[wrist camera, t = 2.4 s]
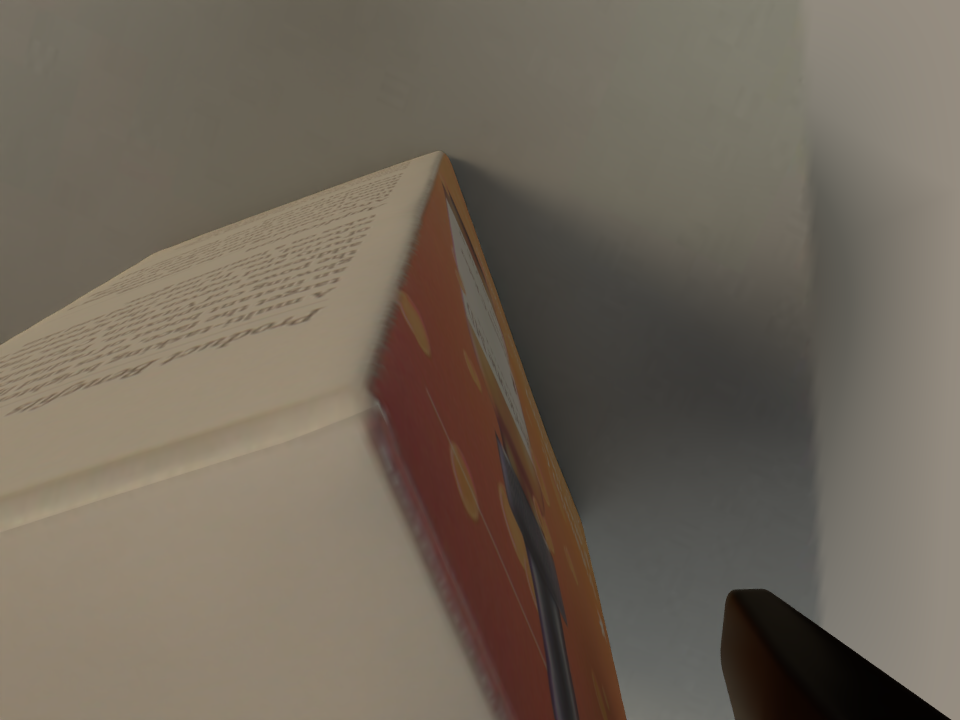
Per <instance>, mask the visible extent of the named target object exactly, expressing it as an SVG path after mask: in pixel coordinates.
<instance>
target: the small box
mask: <svg viewBox="0 0 960 720" xmlns="http://www.w3.org/2000/svg"><path fill="white" fill-rule="evenodd" d="M0 720H627V719H626V715H625V710H624V706H623V702H622V698H621V693H620V688H619V683H618V679H617V674H616V670H615V666H614V662H613V657H612V653H611V648H610V644H609V639H608V635H607V630H606V626H605V621H604V617H603V613H602V608H601V604H600V599H599V595H598V590H597V586H596V581H595V577H594V573H593V569H592V564H591V560H590V555H589V551H588V547H587V543H586V538H585V534H584V529H583V526H582V522H581V519H580V517H579V514H578V512H577V510H576V507H575V505H574V502H573V499H572V497H571V494H570V492H569V489H568V487H567V484H566V482H565V480H564V477H563V475H562V472H561V470H560V467H559V465H558V462H557V460H556V457H555V454H554V452H553V449H552V447H551V444H550V441H549V439H548V436H547V434H546V431H545V428H544V425H543V423H542V420H541V417H540V414H539V412H538V409H537V406H536V403H535V400H534V398H533V395H532V392H531V389H530V386H529V383H528V380H527V378H526V375H525V372H524V369H523V366H522V363H521V360H520V357H519V355H518V352H517V349H516V346H515V343H514V340H513V337H512V334H511V332H510V329H509V326H508V323H507V320H506V317H505V314H504V311H503V308H502V305H501V302H500V300H499V297H498V294H497V291H496V288H495V285H494V283H493V280H492V277H491V274H490V271H489V269H488V266H487V263H486V260H485V257H484V254H483V252H482V249H481V246H480V243H479V240H478V237H477V235H476V232H475V229H474V226H473V223H472V221H471V218H470V215H469V212H468V209H467V206H466V204H465V201H464V198H463V195H462V192H461V190H460V187H459V184H458V181H457V178H456V175H455V173H454V170H453V167H452V164H451V162H450V160H449V158H448V157H447V155H446V154H445V153H444V152H442V151H436V152H432V153H429V154H426V155H423V156H420V157H417V158H414V159H411V160H408V161H405V162H402V163H399V164H397V165H394V166H391V167H388V168H385V169H382V170H379V171H377V172H374V173H371V174H368V175H365V176H363V177H360V178H357V179H354V180H351V181H348V182H346V183H343V184H340V185H337V186H334V187H332V188H329V189H326V190H323V191H321V192H318V193H315V194H312V195H310V196H307V197H304V198H301V199H299V200H296V201H293V202H290V203H288V204H285V205H282V206H279V207H277V208H274V209H271V210H268V211H266V212H263V213H260V214H257V215H255V216H252V217H249V218H247V219H244V220H241V221H238V222H236V223H233V224H230V225H227V226H225V227H222V228H219V229H216V230H214V231H211V232H208V233H206V234H203V235H200V236H198V237H195V238H193V239H190V240H188V241H185V242H182V243H180V244H177V245H175V246H172V247H169V248H167V249H163V250H160V251H158V252H156V253H154V254H152V255H150V256H148V257H147V258H145V259H144V260H142V261H141V262H139V263H138V264H136V265H134V266H132V267H131V268H129V269H127V270H125V271H124V272H122V273H120V274H119V275H117V276H115V277H114V278H112V279H111V280H109V281H107V282H106V283H104V284H102V285H100V286H99V287H97V288H95V289H94V290H92V291H90V292H89V293H87V294H85V295H84V296H82V297H80V298H79V299H77V300H75V301H74V302H72V303H71V304H69V305H67V306H66V307H64V308H62V309H61V310H59V311H57V312H56V313H54V314H52V315H50V316H48V317H47V318H45V319H43V320H41V321H40V322H38V323H37V324H35V325H33V326H32V327H30V328H29V329H27V330H25V331H24V332H22V333H20V334H18V335H16V336H15V337H13V338H11V339H10V340H8V341H6V342H5V343H3V344H1V345H0Z"/></svg>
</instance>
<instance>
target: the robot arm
mask: <svg viewBox="0 0 960 720" xmlns="http://www.w3.org/2000/svg"><path fill="white" fill-rule="evenodd" d="M721 664H722V670H723V674H724V678H725V682H726V686H727V690H728V693H729V697H730V701H731V705H732V709H733V712H734V716H735V720H951V719H949V718H948V717H946V716H945V715H944V714H942V713H941V712H939V711H938V710H937V709H935V708H934V707H932V706H931V705H929V704H928V703H927V702H925V701H924V700H923V699H921V698H920V697H918V696H917V695H915V694H914V693H913V692H911V691H910V690H908V689H907V688H905V687H904V686H903V685H901V684H900V683H899V682H897V681H896V680H894V679H893V678H891V677H890V676H889V675H887V674H886V673H884V672H883V671H882V670H880V669H879V668H877V667H876V666H874V665H873V664H871V663H870V662H869V661H867V660H866V659H864V658H863V657H862V656H860V655H859V654H858V653H856V652H855V651H853V650H852V649H851V648H849V647H848V646H846V645H845V644H843V643H842V642H841V641H839V640H838V639H836V638H835V637H833V636H832V635H831V634H829V633H828V632H826V631H825V630H824V629H822V628H821V627H819V626H818V625H817V624H815V623H814V622H812V621H811V620H810V619H808V618H807V617H805V616H804V615H802V614H801V613H800V612H798V611H797V610H795V609H794V608H793V607H791V606H790V605H788V604H787V603H786V602H784V601H783V600H781V599H780V598H778V597H777V596H776V595H774V594H773V593H771V592H770V591H768V590H765V589H738V590H732V591H731V592H730V593H729V594H728V596H727V599H726V603H725V612H724V621H723V631H722V640H721Z"/></svg>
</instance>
